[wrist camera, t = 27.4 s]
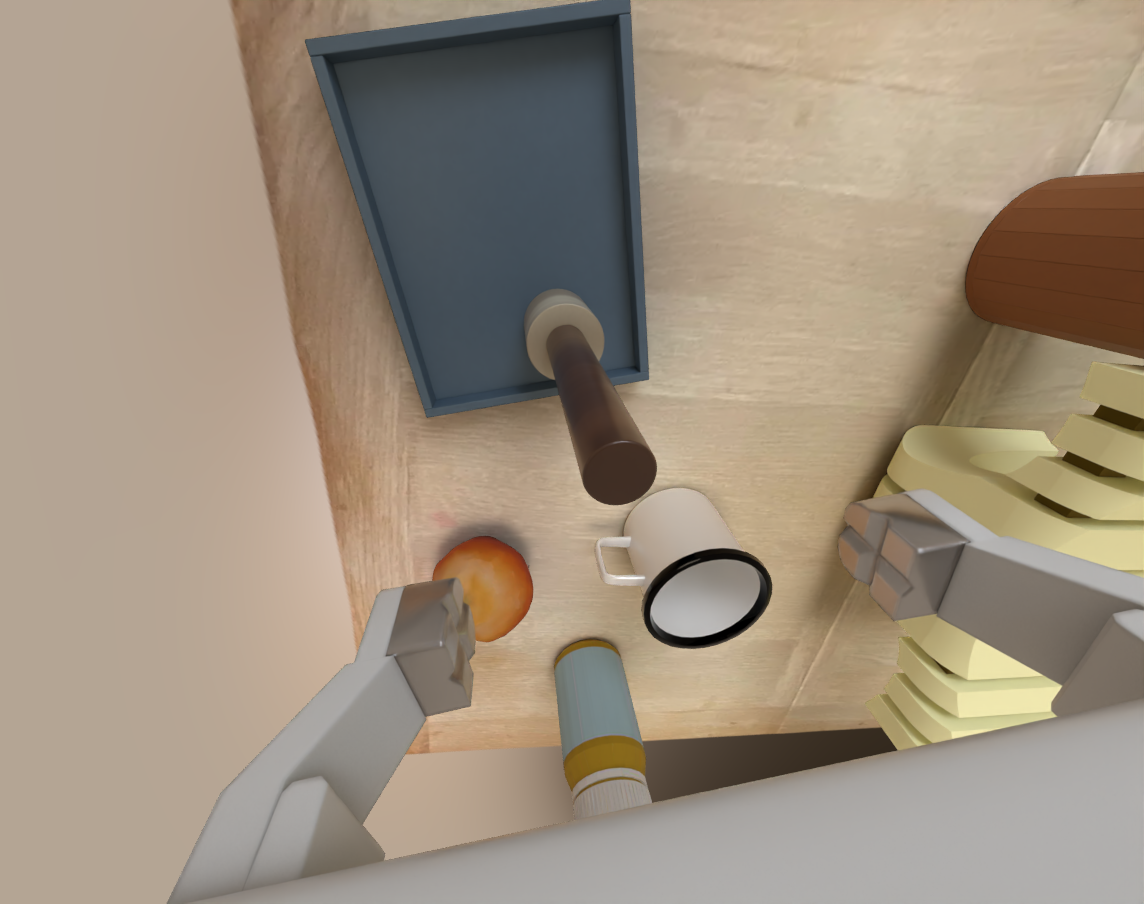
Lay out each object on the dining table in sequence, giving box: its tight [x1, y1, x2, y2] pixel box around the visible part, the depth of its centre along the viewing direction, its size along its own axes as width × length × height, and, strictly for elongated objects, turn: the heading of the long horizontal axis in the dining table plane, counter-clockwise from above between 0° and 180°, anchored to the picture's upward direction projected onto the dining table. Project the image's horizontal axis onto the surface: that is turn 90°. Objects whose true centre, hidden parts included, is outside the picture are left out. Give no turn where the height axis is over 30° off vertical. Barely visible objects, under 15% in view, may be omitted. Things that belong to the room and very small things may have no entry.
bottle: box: [554, 639, 652, 820], centre depth 40 cm, size 7×7×15 cm
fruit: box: [432, 536, 533, 642], centre depth 36 cm, size 8×8×8 cm
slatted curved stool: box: [865, 362, 1144, 750], centre depth 34 cm, size 30×16×18 cm, turn 174°
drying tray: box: [305, 0, 649, 418], centre depth 26 cm, size 19×15×2 cm
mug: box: [595, 488, 772, 649], centre depth 35 cm, size 12×10×9 cm
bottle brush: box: [524, 289, 657, 505], centre depth 21 cm, size 4×4×19 cm
